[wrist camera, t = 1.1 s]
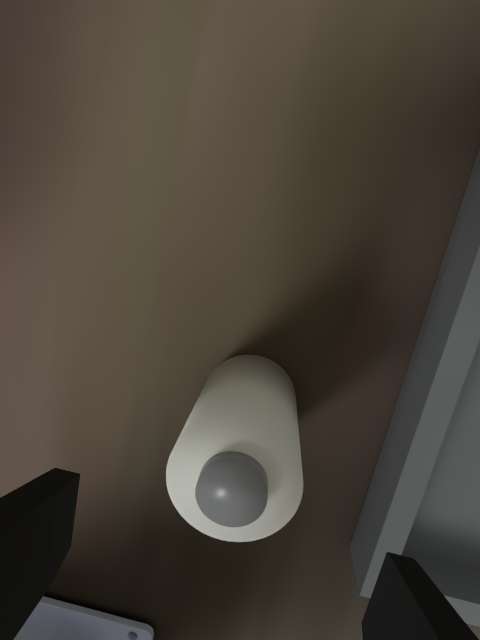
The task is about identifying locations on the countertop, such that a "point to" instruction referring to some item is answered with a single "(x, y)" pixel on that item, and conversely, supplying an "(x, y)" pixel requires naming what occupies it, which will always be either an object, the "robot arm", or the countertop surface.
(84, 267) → the countertop surface
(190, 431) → the cell
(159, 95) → the countertop surface
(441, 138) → the countertop surface
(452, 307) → the tray
